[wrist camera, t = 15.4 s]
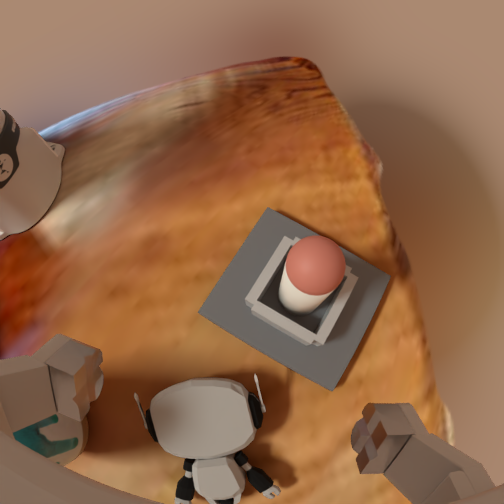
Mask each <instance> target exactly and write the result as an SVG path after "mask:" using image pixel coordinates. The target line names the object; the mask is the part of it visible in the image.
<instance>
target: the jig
mask: <svg viewBox="0 0 504 504" xmlns="http://www.w3.org/2000/svg"><path fill="white" fill-rule="evenodd" d="M308 236H320V235H318V234H317V233H315V232H313V231H311V230H309V229H307V228H306V227H304V226H302V225H300V224H298V223H296V222H295V221H293V220H291V219H289V218H287V217H285V216H283V215H282V214H280V213H278V212H276V211H274V210H272V209H270V208H268V207H267V209H266V210H265V212H264V213H263V215H262V216H261V218H260V219H259V221H258V222H257V224H256V225H255V227H254V228H253V230H252V231H251V233H250V234H249V236H248V237H247V239H246V240H245V242H244V243H243V245H242V246H241V248H240V249H239V251H238V252H237V254H236V255H235V257H234V258H233V260H232V261H231V263H230V264H229V266H228V267H227V269H226V270H225V272H224V273H223V275H222V276H221V278H220V279H219V281H218V282H217V284H216V285H215V287H214V288H213V290H212V292H211V293H210V295H209V296H208V298H207V299H206V301H205V302H204V304H203V305H202V307H201V308H200V310H199V311H198V313H199V314H201V315H202V316H204V317H205V318H207V319H208V320H210V321H211V322H213V323H214V324H216V325H218V326H219V327H221V328H222V329H224V330H226V331H227V332H229V333H230V334H232V335H234V336H235V337H237V338H238V339H240V340H242V341H243V342H245V343H247V344H248V345H250V346H252V347H253V348H255V349H257V350H258V351H260V352H262V353H263V354H265V355H267V356H269V357H270V358H272V359H274V360H275V361H277V362H279V363H281V364H282V365H284V366H286V367H288V368H290V369H291V370H293V371H295V372H297V373H298V374H300V375H302V376H304V377H306V378H308V379H309V380H311V381H313V382H315V383H317V384H319V385H321V386H322V387H324V388H326V389H328V390H330V391H333V390H334V388H335V387H336V385H337V383H338V381H339V380H340V378H341V376H342V374H343V373H344V371H345V369H346V367H347V365H348V364H349V362H350V360H351V358H352V356H353V354H354V352H355V351H356V349H357V347H358V345H359V343H360V341H361V339H362V337H363V335H364V333H365V331H366V329H367V327H368V325H369V323H370V321H371V319H372V317H373V315H374V313H375V311H376V308H377V306H378V304H379V302H380V300H381V298H382V295H383V293H384V291H385V289H386V286H387V284H388V282H389V280H390V277H391V276H390V275H388V274H386V273H385V272H383V271H381V270H380V269H378V268H376V267H375V266H373V265H371V264H369V263H368V262H366V261H364V260H363V259H361V258H359V257H357V256H356V255H354V254H352V253H350V252H349V251H347V250H345V249H343V248H342V247H340V246H339V247H340V249H341V250H342V252H343V255H344V258H345V263H346V269H345V274H344V277H343V279H342V281H341V283H340V284H339V285H338V287H337V288H336V289H335V290H334V291H333V292H332V293H331V294H330V295H329V296H328V297H327V298H326V299H325V300H324V301H323V302H322V303H321V304H320V305H319V306H318V307H317V308H316V309H315V310H314V311H312V312H311V313H309V314H307V315H304V316H295V315H292V314H290V313H288V312H286V311H285V310H284V309H283V308H282V306H281V304H280V302H279V299H278V291H279V287H280V283H281V279H282V274H283V270H284V266H285V262H286V258H287V255H288V253H289V251H290V249H291V248H292V247H293V245H294V244H295V243H297V242H298V241H299V240H301V239H303V238H305V237H308Z"/></svg>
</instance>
